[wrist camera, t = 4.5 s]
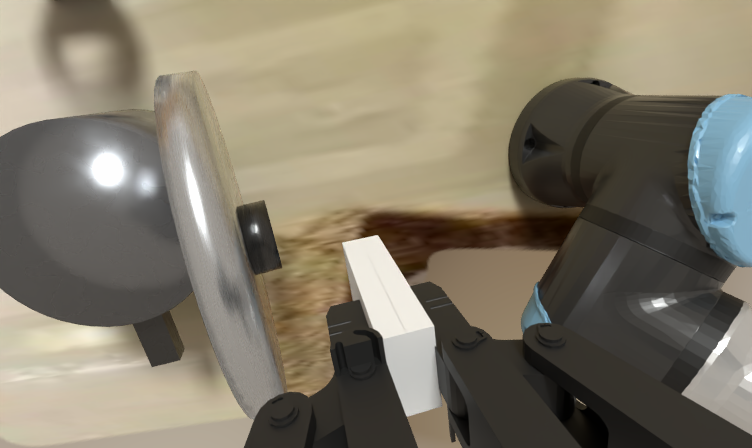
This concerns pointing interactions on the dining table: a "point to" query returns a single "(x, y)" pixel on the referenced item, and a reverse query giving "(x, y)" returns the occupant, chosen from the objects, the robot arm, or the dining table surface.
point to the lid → (220, 240)
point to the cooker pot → (92, 226)
